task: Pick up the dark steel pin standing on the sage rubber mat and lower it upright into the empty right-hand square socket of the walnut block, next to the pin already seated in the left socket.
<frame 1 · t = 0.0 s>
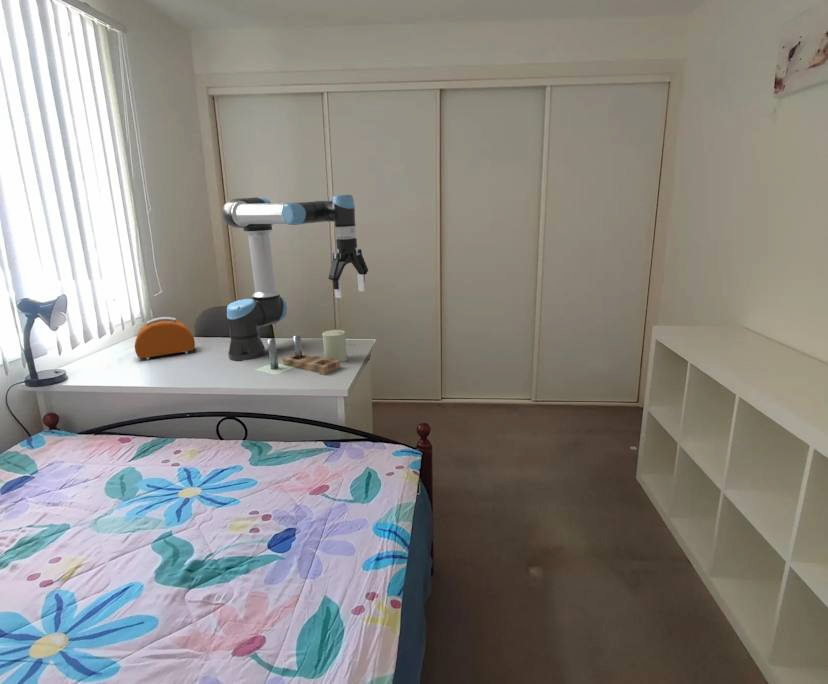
hand: (350, 294, 198), 28 cm above the table, fingers open, 13 cm apart
can: (335, 360, 212), on the table
pin a: (299, 364, 208), resting in socket block
alarm clock: (167, 355, 228), on the table
mat: (274, 369, 203), on the table
socket block: (311, 366, 205), on the table
pin b: (274, 368, 203), resting on mat
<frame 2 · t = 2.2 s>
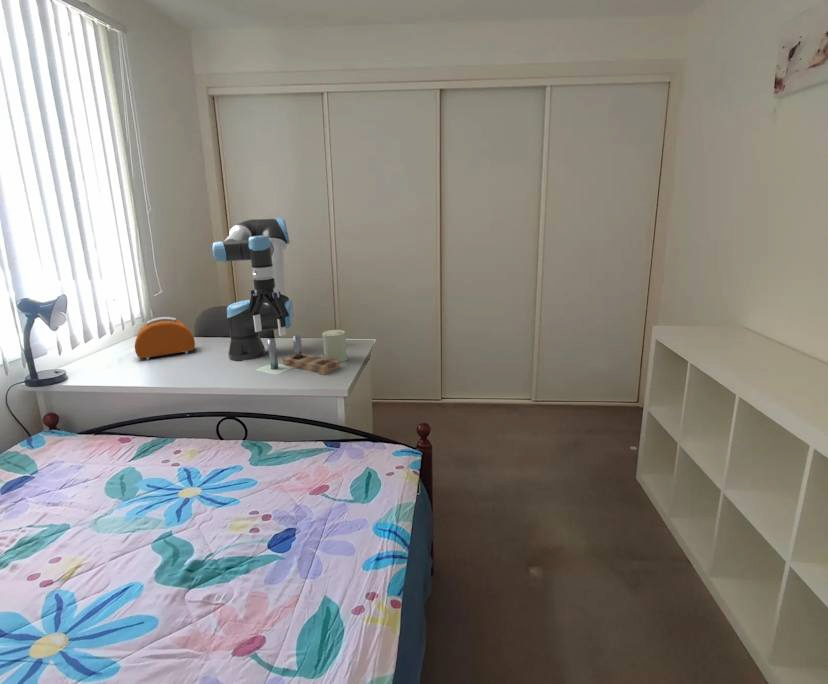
hand: (270, 333, 199), 15 cm above the table, fingers open, 13 cm apart
nothing on the table moved.
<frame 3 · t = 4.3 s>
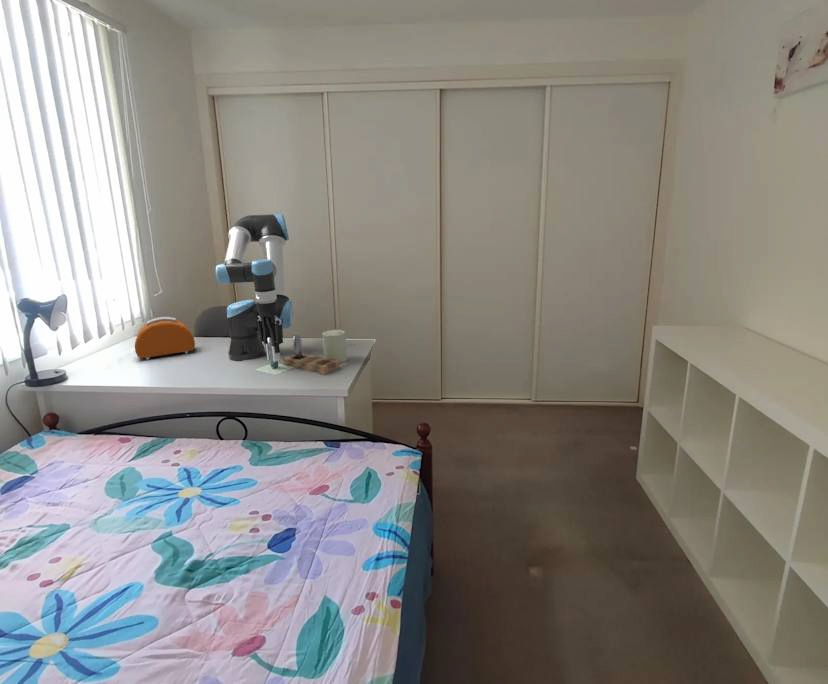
hand: (273, 359, 203), 4 cm above the table, fingers closed on pin b, 3 cm apart
pin b: (274, 366, 204), point 1 cm above the table, touching gripper
everything else where it was.
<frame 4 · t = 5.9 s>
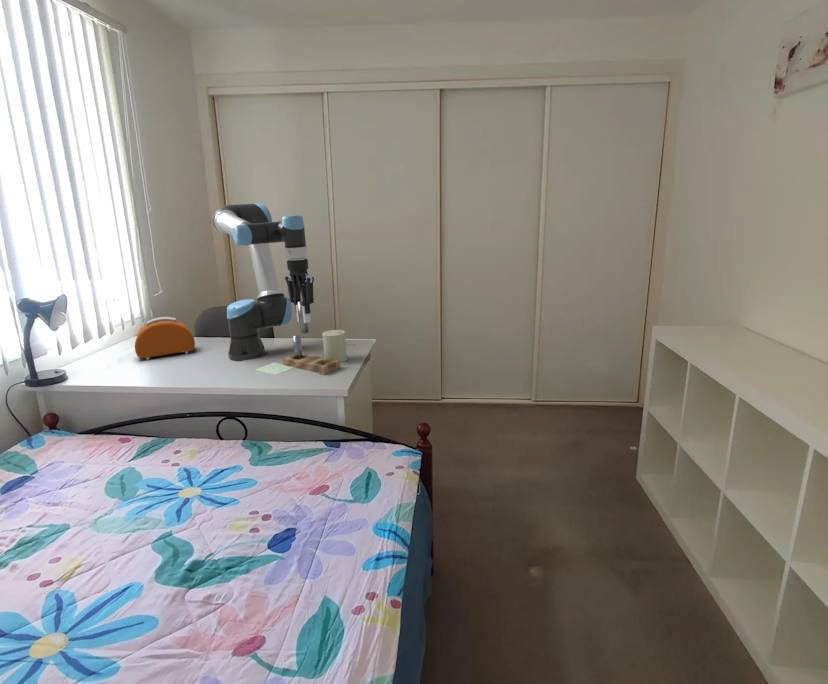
hand: (304, 321, 195), 19 cm above the table, fingers closed on pin b, 3 cm apart
pin b: (305, 332, 196), point 15 cm above the table, touching gripper
everything else where it was.
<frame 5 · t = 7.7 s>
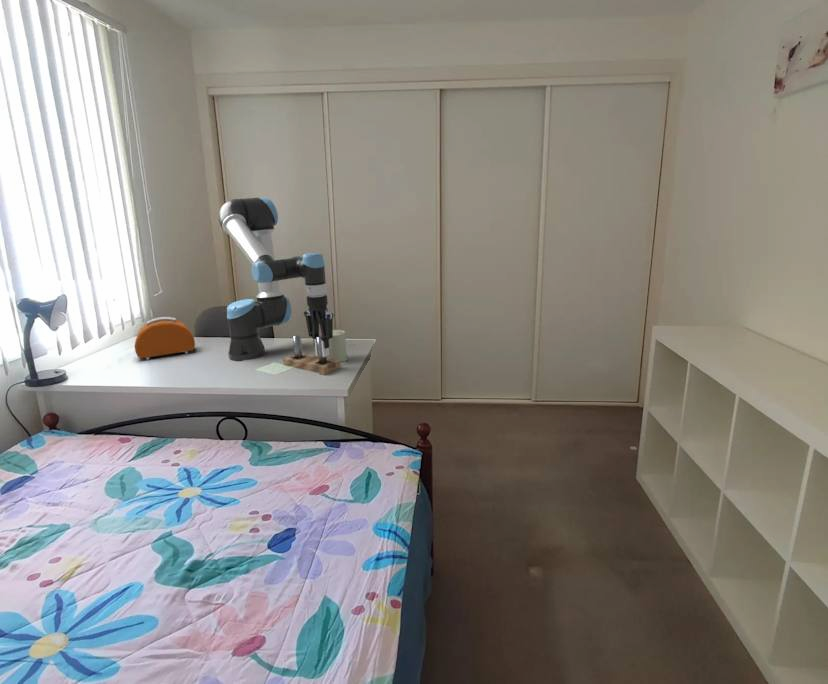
hand: (322, 355, 199), 6 cm above the table, fingers closed on pin b, 3 cm apart
pin b: (323, 366, 200), point 1 cm above the table, touching gripper
everything else where it was.
when the fingers open (4 cm above the table, at t = 8.2 s): pin b stays where it is, resting in socket block.
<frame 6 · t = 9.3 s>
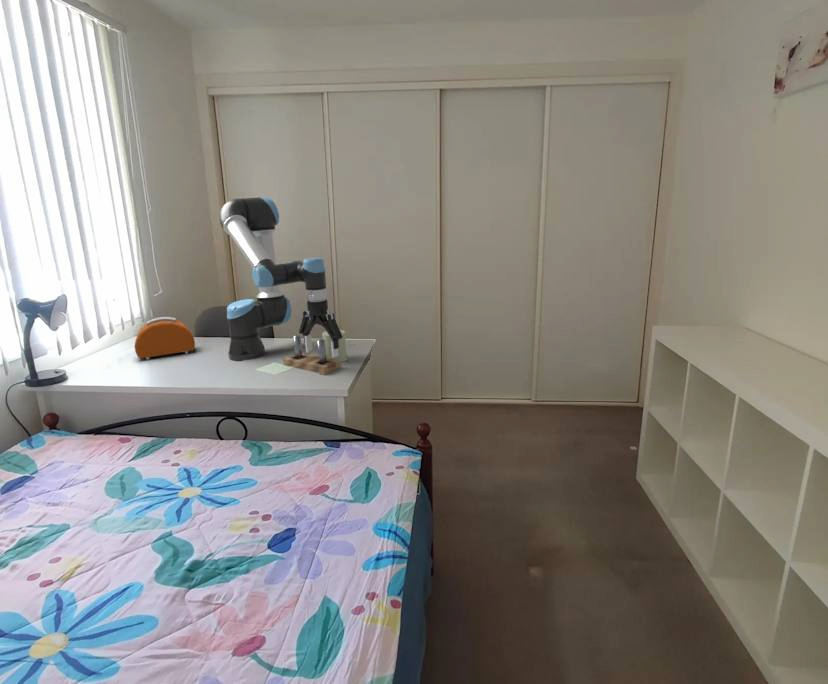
hand: (322, 354, 199), 6 cm above the table, fingers open, 13 cm apart
pin b: (323, 369, 201), resting in socket block
everything else where it was.
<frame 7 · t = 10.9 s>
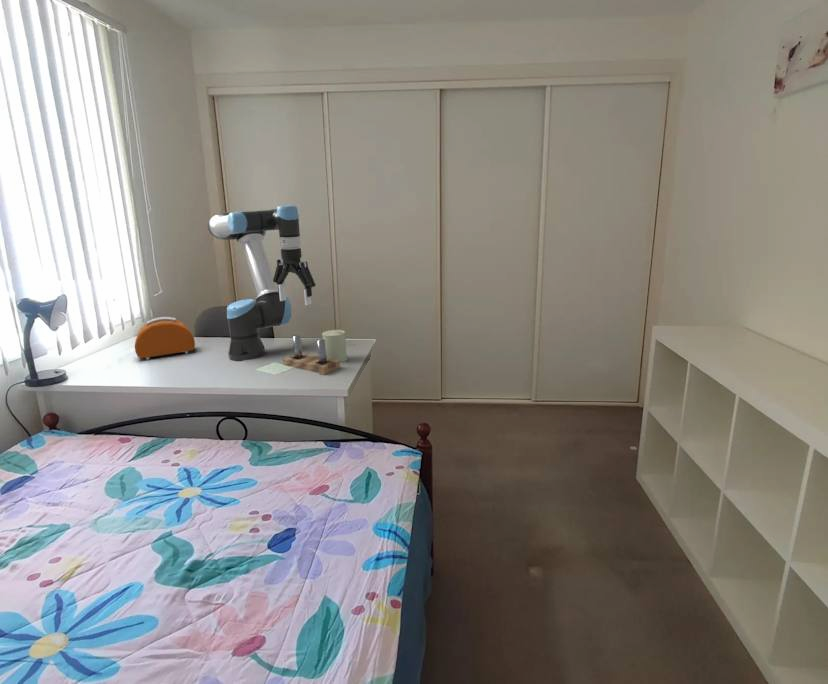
hand: (295, 302, 202), 25 cm above the table, fingers open, 13 cm apart
nothing on the table moved.
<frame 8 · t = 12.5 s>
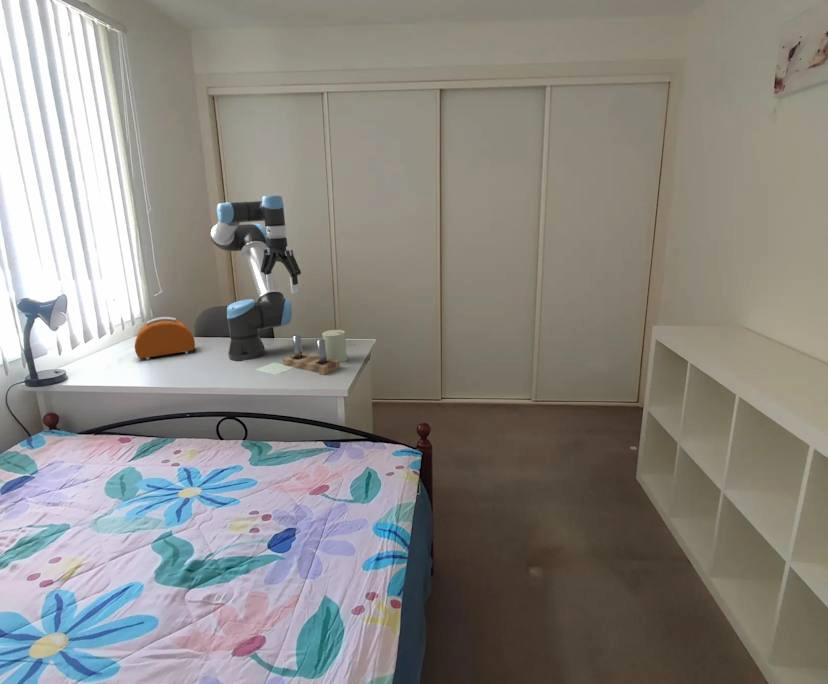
hand: (282, 291, 206), 29 cm above the table, fingers open, 13 cm apart
nothing on the table moved.
at the end: pin b 0.2 cm from the target spot on the socket block, point 0.0 cm above the socket block's base; pin b tilted 0°; the gripper is holding nothing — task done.
